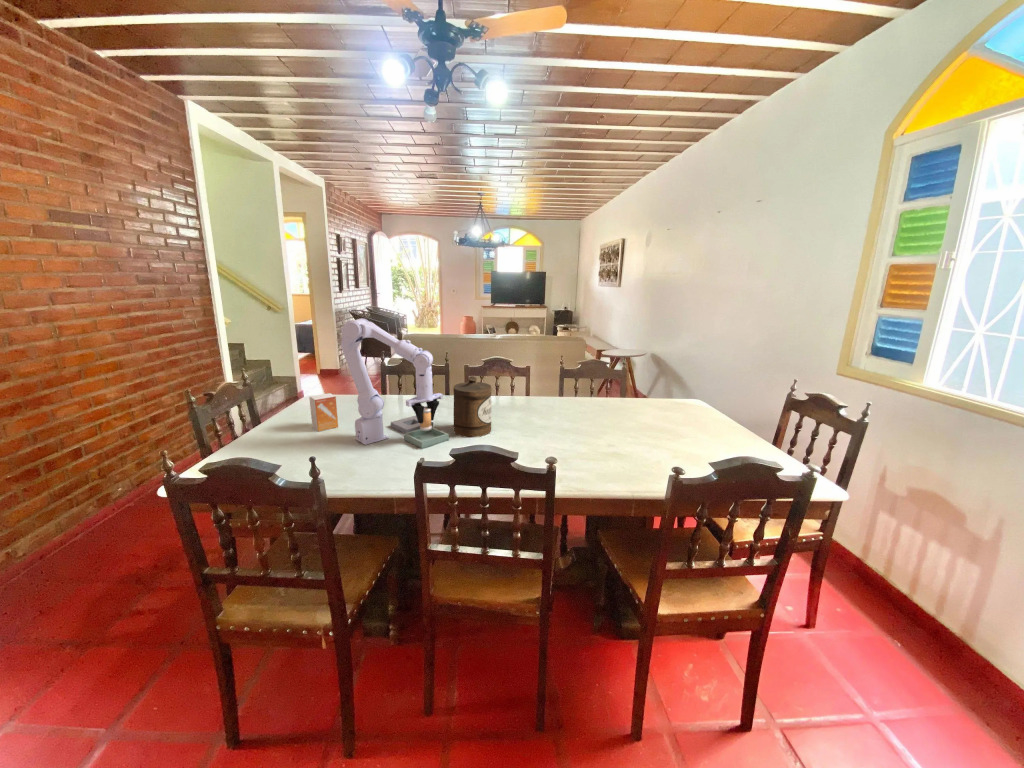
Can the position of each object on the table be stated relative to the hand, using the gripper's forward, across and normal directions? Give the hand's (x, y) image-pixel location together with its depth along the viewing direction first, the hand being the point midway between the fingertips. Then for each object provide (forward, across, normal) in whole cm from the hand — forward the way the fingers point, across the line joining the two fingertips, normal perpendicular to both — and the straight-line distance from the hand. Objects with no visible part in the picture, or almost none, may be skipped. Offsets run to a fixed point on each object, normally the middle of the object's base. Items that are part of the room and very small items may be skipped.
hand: (425, 421), depth 150 cm
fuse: (+3, 0, 0) cm, 3 cm away
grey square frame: (+7, +4, +16) cm, 18 cm away
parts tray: (+7, 0, 0) cm, 7 cm away
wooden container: (+8, +19, -4) cm, 21 cm away
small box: (+8, -21, +39) cm, 45 cm away
